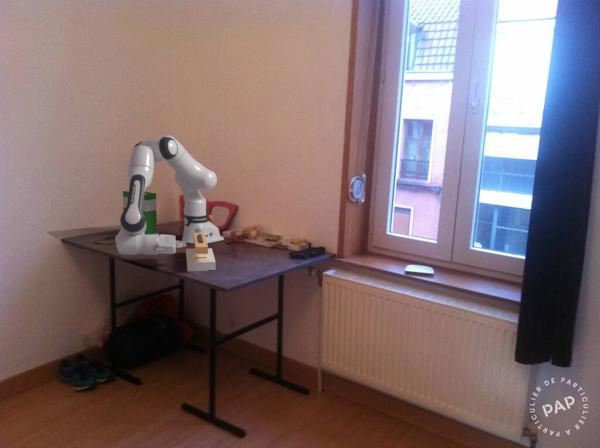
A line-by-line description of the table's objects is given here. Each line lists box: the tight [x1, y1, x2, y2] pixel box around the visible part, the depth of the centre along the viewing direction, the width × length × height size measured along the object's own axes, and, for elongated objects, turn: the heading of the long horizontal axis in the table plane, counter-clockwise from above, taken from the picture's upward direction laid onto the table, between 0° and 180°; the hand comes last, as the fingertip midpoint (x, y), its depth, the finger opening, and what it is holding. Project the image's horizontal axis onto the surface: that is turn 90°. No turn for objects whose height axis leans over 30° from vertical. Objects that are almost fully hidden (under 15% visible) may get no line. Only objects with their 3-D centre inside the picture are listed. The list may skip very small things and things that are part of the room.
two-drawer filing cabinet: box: [185, 247, 217, 272], centre depth 239 cm, size 29×12×8 cm, turn 14°
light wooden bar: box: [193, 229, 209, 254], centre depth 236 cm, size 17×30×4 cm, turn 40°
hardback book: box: [122, 190, 158, 235], centre depth 284 cm, size 18×7×24 cm, turn 58°
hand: (186, 244), depth 232 cm, fingers closed
